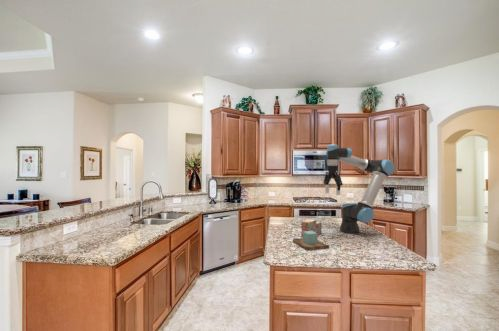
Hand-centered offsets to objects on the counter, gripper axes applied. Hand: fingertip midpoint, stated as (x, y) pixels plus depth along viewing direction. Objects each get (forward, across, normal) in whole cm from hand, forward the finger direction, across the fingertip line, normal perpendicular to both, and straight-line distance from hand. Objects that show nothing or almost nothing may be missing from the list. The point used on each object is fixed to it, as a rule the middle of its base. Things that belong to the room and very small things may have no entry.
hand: (332, 194), depth 190 cm
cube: (+31, +10, -25) cm, 41 cm away
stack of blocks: (+33, -12, -10) cm, 37 cm away
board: (+33, +10, -24) cm, 42 cm away
